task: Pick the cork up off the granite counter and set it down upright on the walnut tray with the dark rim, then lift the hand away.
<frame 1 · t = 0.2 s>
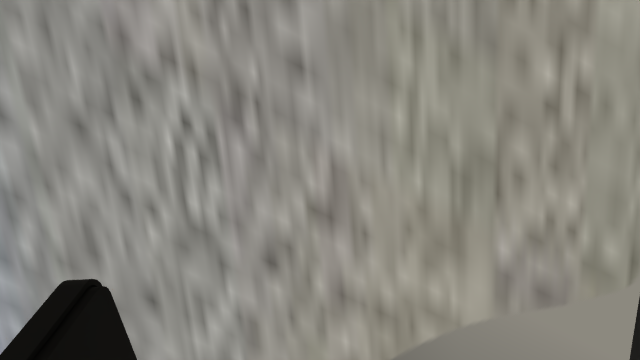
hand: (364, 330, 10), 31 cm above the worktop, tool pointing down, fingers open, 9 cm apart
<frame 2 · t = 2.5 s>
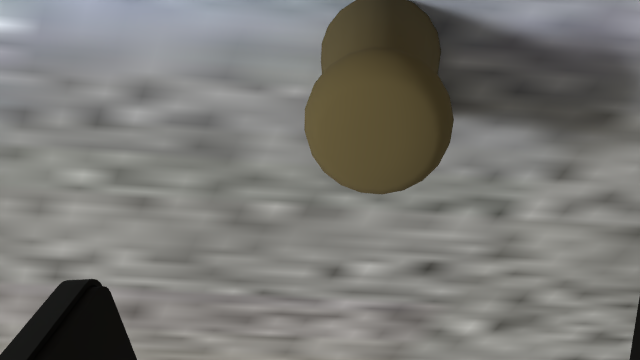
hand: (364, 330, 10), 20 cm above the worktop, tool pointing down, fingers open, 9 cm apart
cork: (380, 55, 27), on the worktop
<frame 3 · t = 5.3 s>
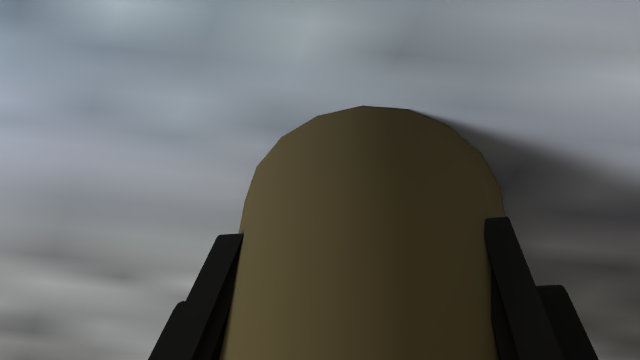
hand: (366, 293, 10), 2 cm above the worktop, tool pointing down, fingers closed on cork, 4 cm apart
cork: (371, 224, 13), on the worktop, touching gripper
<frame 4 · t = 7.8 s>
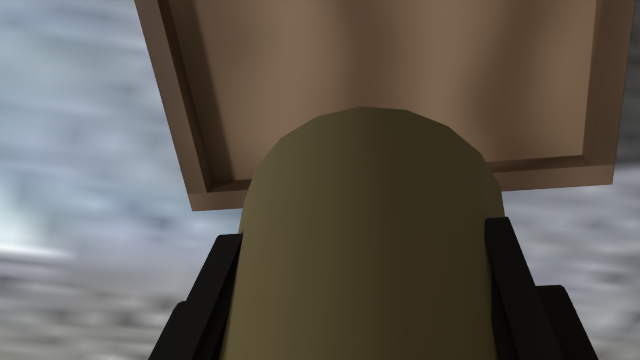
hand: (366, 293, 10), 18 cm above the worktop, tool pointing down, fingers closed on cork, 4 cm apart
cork: (371, 224, 13), point 15 cm above the worktop, touching gripper
walnut tray: (378, 37, 26), on the worktop
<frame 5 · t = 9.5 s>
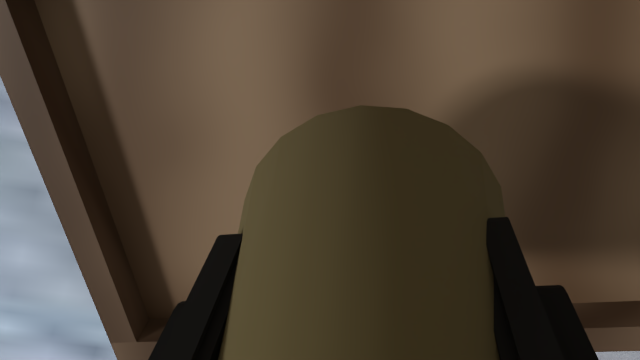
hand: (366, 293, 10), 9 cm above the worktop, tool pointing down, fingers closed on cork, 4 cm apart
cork: (371, 224, 13), point 6 cm above the worktop, touching gripper
walnut tray: (373, 130, 18), on the worktop
when the fingers open (6 cm above the worktop, at t = 10.8 s): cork drops 1 cm, resting on walnut tray.
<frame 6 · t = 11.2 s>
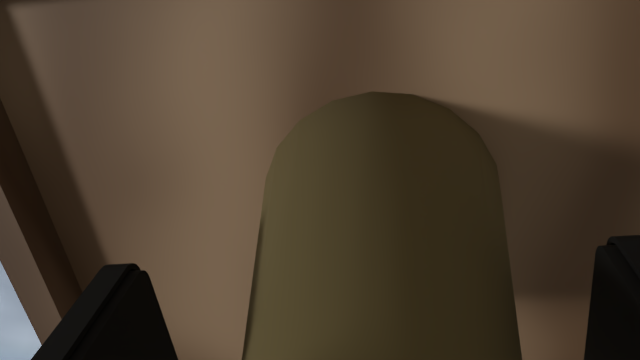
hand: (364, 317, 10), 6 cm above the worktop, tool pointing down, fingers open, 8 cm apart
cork: (380, 200, 14), point 2 cm above the worktop, touching walnut tray
walnut tray: (371, 164, 16), on the worktop
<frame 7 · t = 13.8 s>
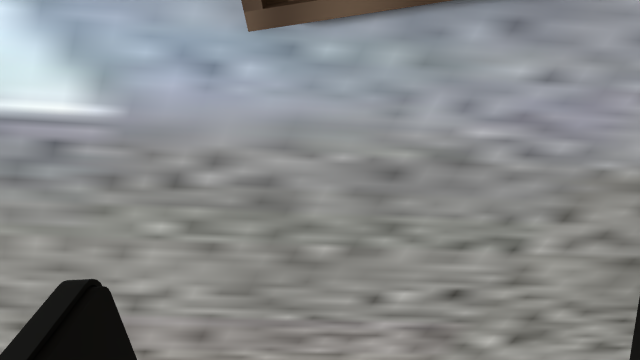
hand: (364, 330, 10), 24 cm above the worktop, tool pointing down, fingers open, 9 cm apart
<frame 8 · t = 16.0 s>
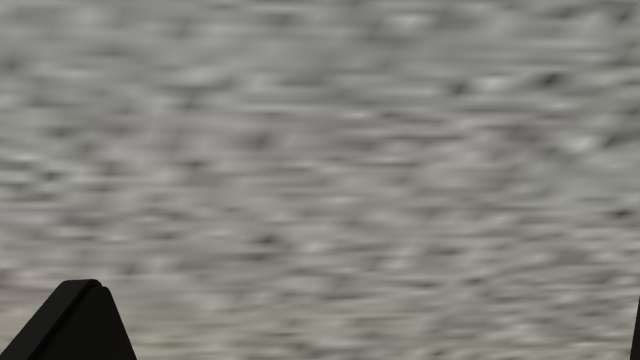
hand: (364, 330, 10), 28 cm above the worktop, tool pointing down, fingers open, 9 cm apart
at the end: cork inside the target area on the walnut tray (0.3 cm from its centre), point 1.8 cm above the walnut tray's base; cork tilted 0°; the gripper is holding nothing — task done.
